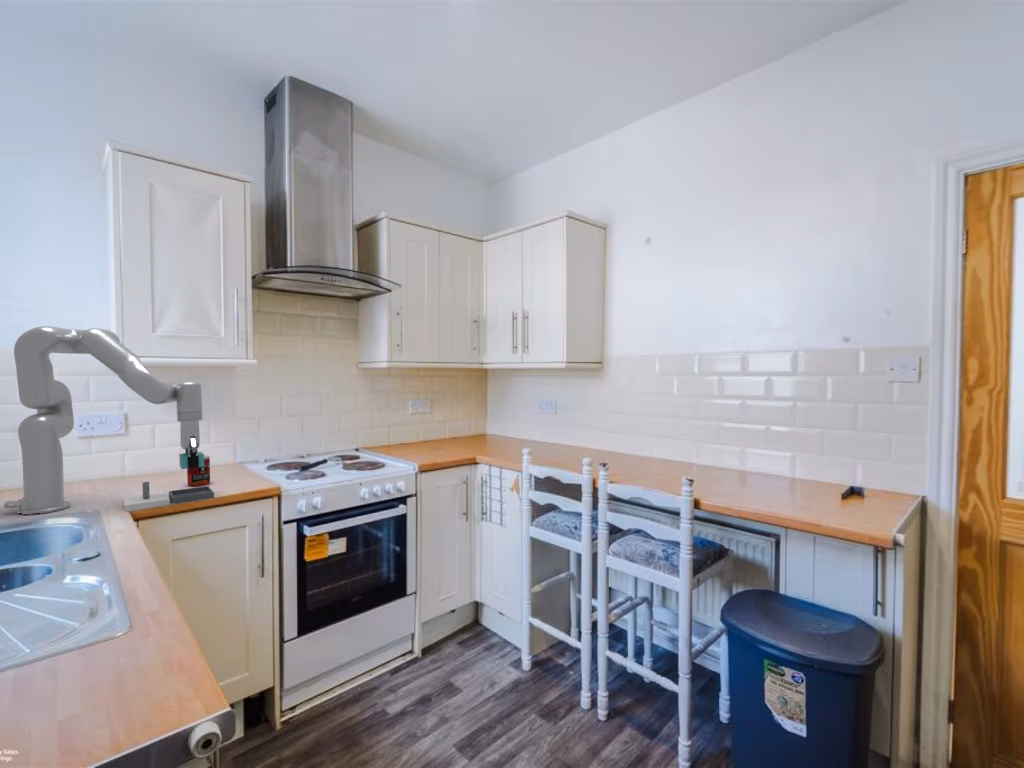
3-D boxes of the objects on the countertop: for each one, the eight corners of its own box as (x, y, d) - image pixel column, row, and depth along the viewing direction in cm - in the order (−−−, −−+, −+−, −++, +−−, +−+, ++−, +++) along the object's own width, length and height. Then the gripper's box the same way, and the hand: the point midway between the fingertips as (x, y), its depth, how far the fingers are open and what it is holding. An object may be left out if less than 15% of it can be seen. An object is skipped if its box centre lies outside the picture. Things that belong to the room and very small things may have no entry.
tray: (172, 503, 166) (172, 498, 166) (168, 496, 176) (168, 491, 176) (214, 497, 174) (213, 492, 174) (208, 491, 184) (208, 485, 183)
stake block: (124, 511, 157) (123, 488, 157) (123, 503, 167) (122, 481, 166) (169, 504, 165) (169, 482, 165) (166, 497, 174) (165, 476, 174)
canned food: (192, 487, 189) (191, 459, 188) (184, 484, 194) (183, 457, 193) (213, 484, 195) (213, 456, 194) (205, 481, 200) (204, 454, 199)
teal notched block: (182, 469, 170) (181, 456, 170) (179, 466, 175) (179, 454, 175) (204, 466, 174) (203, 453, 174) (201, 463, 179) (200, 451, 179)
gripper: (174, 415, 178) (176, 464, 179) (180, 419, 165) (182, 471, 166) (198, 414, 183) (200, 461, 184) (206, 417, 170) (208, 468, 170)
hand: (192, 465), depth 175 cm, fingers closed on teal notched block, 6 cm apart
